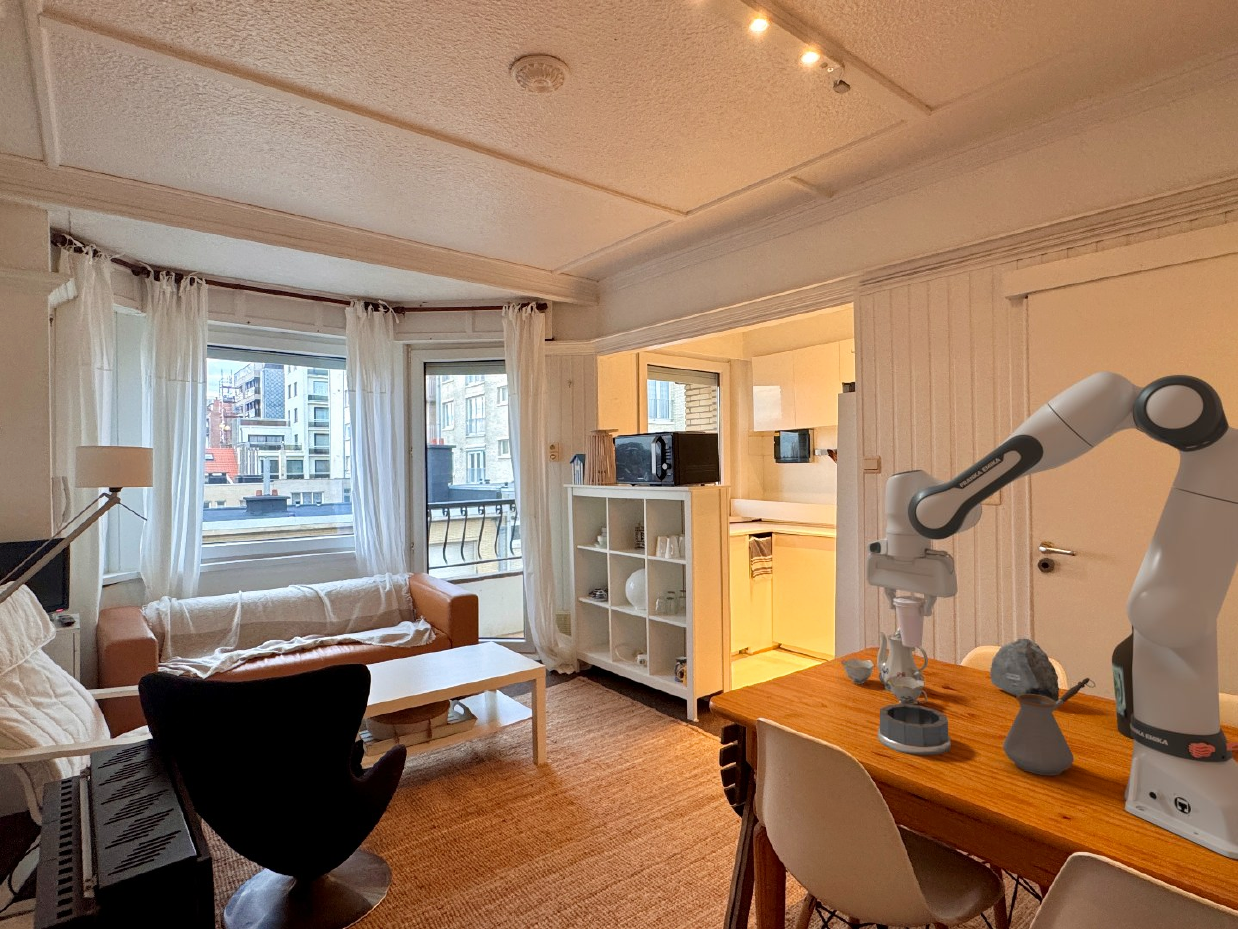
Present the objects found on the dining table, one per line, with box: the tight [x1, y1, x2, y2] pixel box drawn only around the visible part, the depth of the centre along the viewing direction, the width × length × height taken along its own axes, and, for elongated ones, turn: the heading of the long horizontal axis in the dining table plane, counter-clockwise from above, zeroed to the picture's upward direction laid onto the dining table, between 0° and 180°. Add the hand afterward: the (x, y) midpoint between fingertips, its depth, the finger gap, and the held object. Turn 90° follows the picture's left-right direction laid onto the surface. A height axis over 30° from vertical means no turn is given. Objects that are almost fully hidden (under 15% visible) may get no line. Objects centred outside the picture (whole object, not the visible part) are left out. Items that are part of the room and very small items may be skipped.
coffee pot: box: [1002, 677, 1096, 776], centre depth 128 cm, size 21×12×15 cm, turn 111°
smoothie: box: [893, 592, 927, 648], centre depth 139 cm, size 6×6×14 cm
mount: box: [877, 703, 952, 757], centre depth 139 cm, size 14×14×6 cm
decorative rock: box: [989, 638, 1060, 702], centre depth 163 cm, size 16×7×15 cm, turn 14°
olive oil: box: [1111, 625, 1134, 740], centre depth 140 cm, size 11×11×25 cm
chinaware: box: [840, 627, 929, 705], centre depth 171 cm, size 28×17×17 cm, turn 25°
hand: (910, 612), depth 139 cm, fingers closed on smoothie, 6 cm apart
